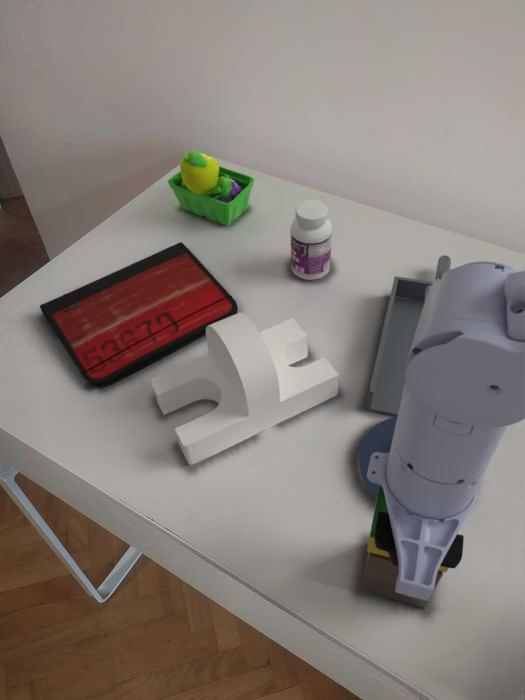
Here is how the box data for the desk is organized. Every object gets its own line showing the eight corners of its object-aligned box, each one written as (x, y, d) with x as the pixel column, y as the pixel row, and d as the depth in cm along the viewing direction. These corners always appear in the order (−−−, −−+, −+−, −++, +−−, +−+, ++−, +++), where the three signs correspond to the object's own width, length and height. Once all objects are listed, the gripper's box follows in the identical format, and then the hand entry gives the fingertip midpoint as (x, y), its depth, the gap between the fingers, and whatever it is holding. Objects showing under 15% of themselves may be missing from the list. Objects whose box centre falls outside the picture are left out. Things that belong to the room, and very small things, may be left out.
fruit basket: (259, 206, 88) (254, 138, 80) (225, 238, 84) (216, 169, 75) (200, 186, 93) (190, 119, 84) (165, 215, 88) (150, 147, 80)
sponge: (446, 573, 43) (455, 554, 40) (366, 551, 44) (370, 532, 42) (451, 523, 46) (460, 503, 43) (375, 505, 47) (379, 484, 44)
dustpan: (475, 432, 60) (483, 414, 57) (366, 409, 63) (368, 391, 60) (487, 275, 76) (493, 255, 73) (399, 262, 78) (402, 242, 76)
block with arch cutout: (293, 339, 70) (292, 270, 62) (337, 395, 64) (342, 327, 56) (155, 399, 65) (134, 333, 57) (189, 466, 59) (171, 403, 51)
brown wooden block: (425, 608, 49) (442, 574, 43) (361, 590, 50) (369, 555, 44) (431, 558, 52) (448, 519, 46) (370, 542, 53) (378, 502, 47)
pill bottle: (284, 262, 79) (282, 203, 72) (318, 251, 81) (319, 191, 73) (302, 286, 76) (302, 227, 69) (337, 273, 77) (341, 214, 70)
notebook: (37, 303, 73) (180, 238, 80) (43, 315, 75) (183, 251, 82) (90, 386, 65) (244, 306, 72) (95, 398, 66) (245, 318, 74)
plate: (465, 532, 53) (468, 527, 52) (347, 503, 56) (348, 497, 55) (472, 434, 60) (475, 428, 59) (367, 412, 62) (368, 406, 62)
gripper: (393, 341, 40) (374, 445, 50) (352, 537, 31) (340, 614, 41) (499, 361, 38) (458, 464, 48) (490, 573, 29) (441, 644, 39)
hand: (410, 535), depth 45 cm, fingers closed on sponge, 4 cm apart
